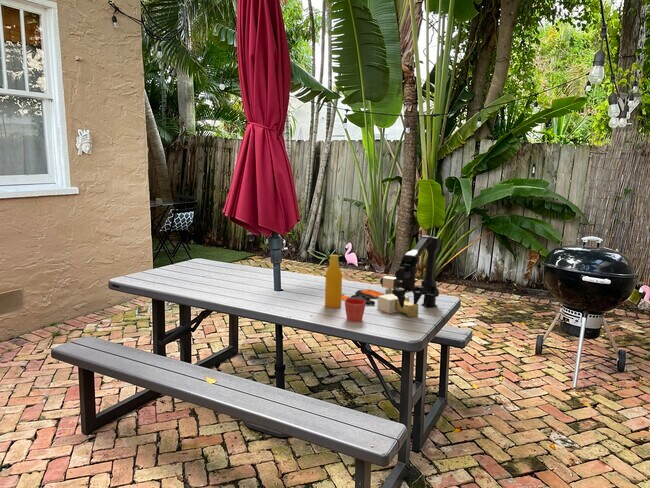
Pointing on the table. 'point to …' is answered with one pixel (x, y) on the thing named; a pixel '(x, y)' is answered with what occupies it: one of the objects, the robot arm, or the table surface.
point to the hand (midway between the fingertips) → (408, 306)
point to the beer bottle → (333, 283)
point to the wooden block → (407, 308)
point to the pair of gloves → (364, 296)
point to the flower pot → (354, 309)
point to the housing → (388, 302)
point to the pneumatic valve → (388, 283)
